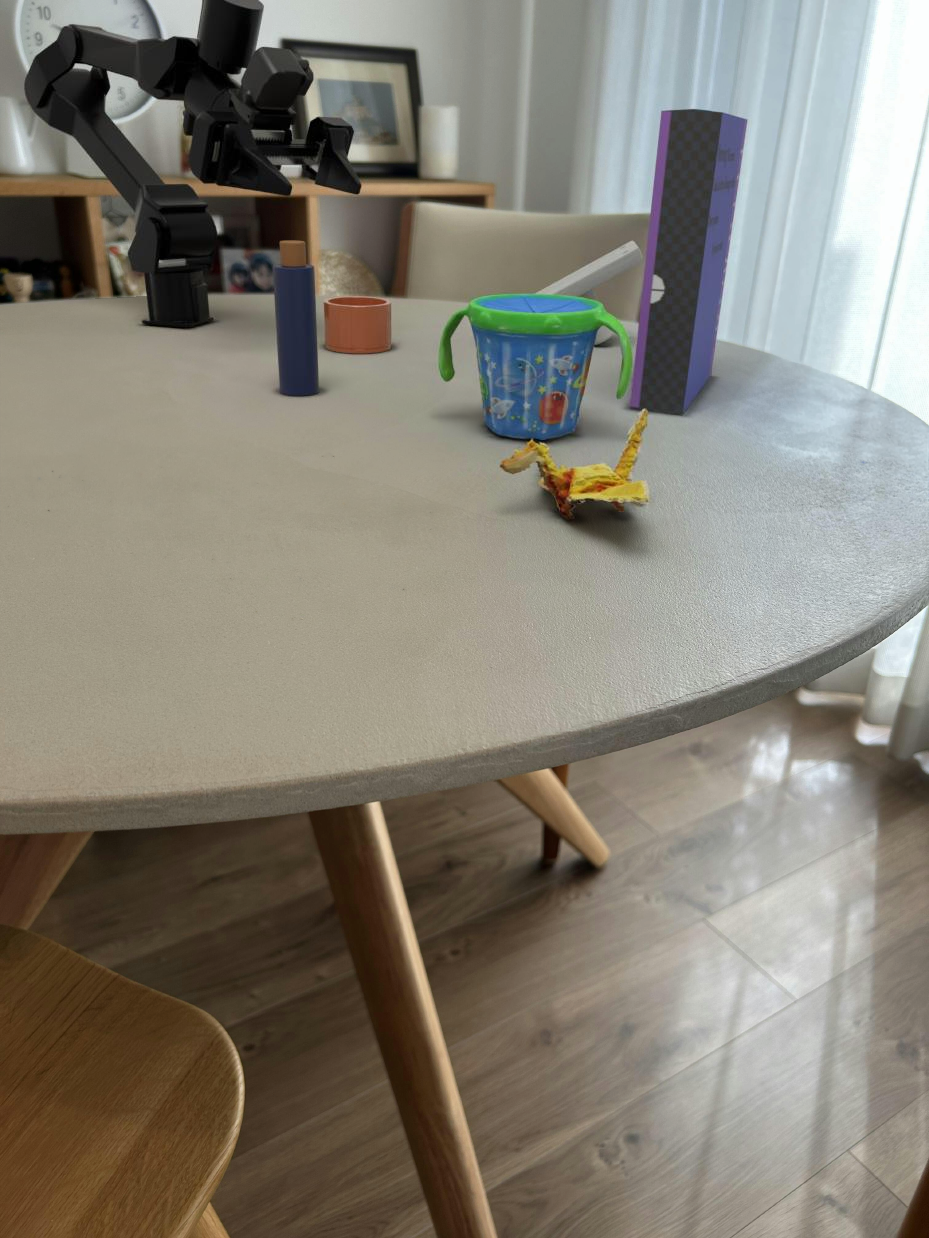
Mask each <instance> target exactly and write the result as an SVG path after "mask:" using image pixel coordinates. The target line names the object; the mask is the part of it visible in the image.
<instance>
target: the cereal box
mask: <svg viewBox="0 0 929 1238" xmlns="http://www.w3.org/2000/svg"><path fill="white" fill-rule="evenodd" d="M659 119H660V121H659V131H658V139H657V149H656V159H655V168H654V177H653V185H652V186H653V187H652V194H651V195H652V198H651V205H650V215H649V224H648V232H647V233H648V234H647V242H646V252H645V260H644V261H645V262H644V271H643V272H644V273H643V281H642V288H641V289H642V290H641V298H640V307H639V318H638V325H637V326H638V327H637V335H636V336H637V337H636V346H635V354H634V355H635V356H634V364H633V373H632V383H631V393H630V402H629V410H634V411H642V410H643V409H647V411H648V412H653V413H660V414H668V415H678V416H684V414H685V413H686V411H687V410H688V409H689V408H690V406H691V405H692V403H693V402H694V401H695V400H696V398H697V397H698V395H699V394H700V393H701V391H702V390H703V388H704V387H705V386H706V384H707V383H708V382H709V380H710V379H711V378H712V371H713V367H714V366H713V364H714V359H715V352H716V351H715V350H716V344H717V338H718V337H717V336H718V332H719V331H718V329H719V322H720V317H721V316H720V315H721V310H722V302H723V295H724V288H725V280H726V275H727V266H728V259H729V252H730V245H731V239H732V232H733V225H734V217H735V210H736V203H737V196H738V190H739V182H740V175H741V170H742V169H741V168H742V161H743V155H744V154H743V153H744V147H745V140H746V134H747V126H748V118H744V117H740V116H737V115H733V114H730V113H727V112H722V111H713V110H710V109H701V108H700V109H698V108H686V109H668V110H667V109H666V110H661V111H660V118H659Z"/></svg>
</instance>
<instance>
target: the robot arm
mask: <svg viewBox="0 0 929 1238" xmlns="http://www.w3.org/2000/svg"><path fill="white" fill-rule="evenodd" d="M264 9H265V6H264V4H263V2H262V1H260V0H201V8H200V16H199V20H198V28H197V34H196V37H187V36H177V35H174V36H171V37H168V38H156V37H153V38H142V39H141V38H140V39H138V38H133V37H129V36H127V35H122V34H119V33H114V32H111V31H107V30H106V29H103V28H102V27H101V26H95V25H94V26H93V25H85V24H77V23H76V24H75V23H69V24H68V25H63V27H62V28H61V30H60V31H59V33H58V36H57V37H56V40H54V41H53V42H51V44H49V45H48V46H47V47H44V49H42V50H41V51H40V52H38V53H37V54H36V55H35V56H34V57H33V60H32V62H31V65H30V67H29V69H28V70H27V74H26V76H25V78H24V82H23V90H24V96H25V98H26V101H27V103H28V105H29V106H30V108H31V110H32V111H33V112H34V114H35V115H36V116H37V117H38V118H40V120H42V121H43V122H44V123H45V124H47V126H48V127H50V128H52V129H55V130H57V131H59V132H61V133H64V134H65V135H68V136H70V137H72V138H74V140H75V141H76V142H77V143H78V144H79V146H80V147H81V148H82V149H83V150H84V152H85V153H86V154H87V156H89V157H90V159H91V161H93V163H94V164H95V165H96V166H97V167H98V169H99V170H100V171H101V172H102V173H103V175H104V176H105V177H106V179H107V180H108V181H109V183H111V185H112V186H113V187H114V188H115V190H116V191H117V192H118V193H119V194H120V196H121V197H122V199H124V201H125V202H126V203H127V204H128V205H129V207H130V208H131V209H132V211H133V212H134V232H135V234H134V237H133V240H132V242H131V244H130V246H129V249H128V250H127V257H128V261H129V264H130V267H131V270H132V271H133V272H137V273H143V277H144V285H145V294H146V303H147V304H146V305H147V311H148V317H147V318H142V319H141V324H143V325H154V326H165V327H176V328H177V327H178V328H191V327H194V326H199V325H201V324H204V323H208V322H211V321H214V315H210V305H209V303H210V302H209V293H208V285H207V284H206V282H204V273H203V270H208V271H209V270H210V271H211V270H214V264H215V256H216V249H217V242H218V230H217V226H216V223H215V220H214V218H213V217H212V215H211V213H210V212H209V211H208V210H207V209H208V207H209V204H208V203H206V202H204V201H203V200H202V199H201V198H200V197H199V195H198V194H197V193H196V191H195V189H194V188H193V187H192V186H191V185H189V184H188V183H165V182H164V180H162V178H161V177H160V175H158V173H157V172H156V170H154V169H153V167H152V165H150V164H149V163H148V161H147V160H146V159H145V158H144V156H142V154H141V153H140V151H138V150H137V148H136V147H135V146H134V145H133V143H132V142H131V141H130V140H129V139H128V137H126V135H125V134H124V133H123V132H122V131H121V129H120V128H119V127H118V125H117V124H115V122H114V121H113V120H112V119H111V117H110V115H108V114H107V112H106V99H107V96H108V93H109V92H110V90H111V82H110V77H109V73H108V72H110V73H114V74H117V75H120V76H123V77H126V78H131V79H133V80H134V81H136V82H137V86H138V87H139V89H140V90H141V91H143V92H145V93H147V95H150V96H151V97H153V98H154V99H156V100H159V101H176V102H177V101H179V102H183V108H184V109H183V111H182V116H183V118H182V129H183V134H184V135H185V136H186V137H191V142H190V148H189V155H188V166H189V169H190V172H191V173H192V175H194V176H195V178H197V180H199V181H200V182H201V183H203V184H204V185H209V184H210V185H212V184H215V185H217V186H218V187H228V188H235V189H241V190H248V191H254V192H260V193H265V194H266V193H267V194H270V195H271V194H272V195H277V196H278V195H279V196H282V197H291V195H292V190H293V185H292V183H291V182H290V181H289V179H288V178H287V177H286V176H285V175H284V174H283V172H282V171H281V170H282V166H301V170H302V173H303V175H304V176H305V177H306V178H307V179H308V180H311V181H314V185H316V186H320V187H323V188H324V187H325V188H326V189H331V190H335V191H339V192H342V193H343V192H344V193H347V194H352V195H357V196H359V195H360V193H361V190H362V186H363V185H362V182H361V181H360V179H359V177H358V175H357V173H356V171H355V170H354V167H353V166H352V164H351V161H350V160H349V158H348V156H349V153H350V149H351V145H352V142H353V138H354V135H355V130H354V128H353V126H352V125H351V124H350V123H349V122H348V121H346V120H345V119H344V118H342V117H334V116H333V117H332V116H316V117H315V118H313V119H311V120H310V121H309V124H308V129H307V133H306V137H305V139H304V138H303V139H299V138H293V131H292V130H291V126H295V124H296V121H297V120H296V119H297V115H298V113H297V112H296V111H294V109H292V108H291V107H292V106H293V105H294V104H295V102H296V100H297V98H298V97H305V96H306V95H307V93H308V92H309V90H310V88H311V85H313V82H314V79H315V78H314V77H315V75H314V71H313V70H312V68H311V67H310V61H309V60H308V59H304V58H303V57H302V56H301V55H300V54H299V53H294V52H293V51H292V50H291V49H289V48H279V47H271V46H261V47H259V48H257V45H258V41H259V35H260V30H261V26H262V25H261V24H262V19H263V14H264ZM76 64H78V65H87V66H90V67H91V68H90V70H88V69H86V68H77V67H75V65H76ZM243 69H245V70H244V73H243V74H242V77H241V80H240V83H239V81H237V80H236V79H234V77H232V75H233V76H234V75H235V76H236V75H240V74H241V73H242V71H243ZM173 260H176V261H173ZM160 261H162V262H160Z"/></svg>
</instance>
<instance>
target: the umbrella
mask: <svg viewBox="0 0 929 1238" xmlns="http://www.w3.org/2000/svg"><path fill="white" fill-rule="evenodd" d="M306 252H307V251H306V241H303V240H292V239H291V240H280V241H279V258H280V263H278V264H277V263H276V264H274V265H272V278H273V279H272V281H273V292H274V293H273V295H274V296H273V297H274V312H275V332H276V348H277V365H278V366H277V367H278V381H279V393H280V394H282V395H286V396H292V397H306V396H313V395H316V394H318V393H320V380H319V379H320V377H319V354H318V352H319V351H318V349H319V348H318V328H317V327H318V326H317V324H318V323H317V301H316V298H317V297H316V275H315V266H314V265H312V264H308V263H307V253H306Z"/></svg>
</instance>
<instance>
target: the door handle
mask: <svg viewBox="0 0 929 1238" xmlns="http://www.w3.org/2000/svg"><path fill="white" fill-rule="evenodd" d="M643 257H644V256H643V254H642V252H641V249H640V247H639V246H638V245H637V243H636V242H635V241H634V240H630V241H628V242H627V243H624V244H623V245H621V246H619V247H618V248H615V249H614V250H612V251H609V253H606V254H605V255H603V256H601V257H599V258H597V259H596V260H594V261H592V262H590V263H588V264H586V265H584V266H583V267H581V268H579V269H577V270H575V271H574V272H572V273H570V274H568V275H566V276H564V277H562V278H561V279H559V280H557V281H555V282H553V283H552V284H550V285H548V286H546V287H544V288H542V289H541V290H539V291H537V292H535V293H534V294H553V295H566V296H575V297H582V298H587V299H591V300H595V301H598V299H597V296H596V295H595V292H594V289H595V288H596V287H599V286H600V285H602V284H604V283H606V282H608V281H610V280H612V279H613V278H616V277H617V276H619V275H621V274H623V273H625V272H626V271H628V270H631V269H632V268H634V267H636V266H638V265H639V264H641V263H644V258H643ZM615 334H616V333H614V332H613V331H611V330H610V329H608V328H607V327H606V326H601V327H600V328H599V330H598V331H597V335H596V340H595V343H594V346H597V345H601V344H603V343H605V342H607V341H608V340H610V339H611V338H612V337H613V336H614V335H615Z"/></svg>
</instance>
